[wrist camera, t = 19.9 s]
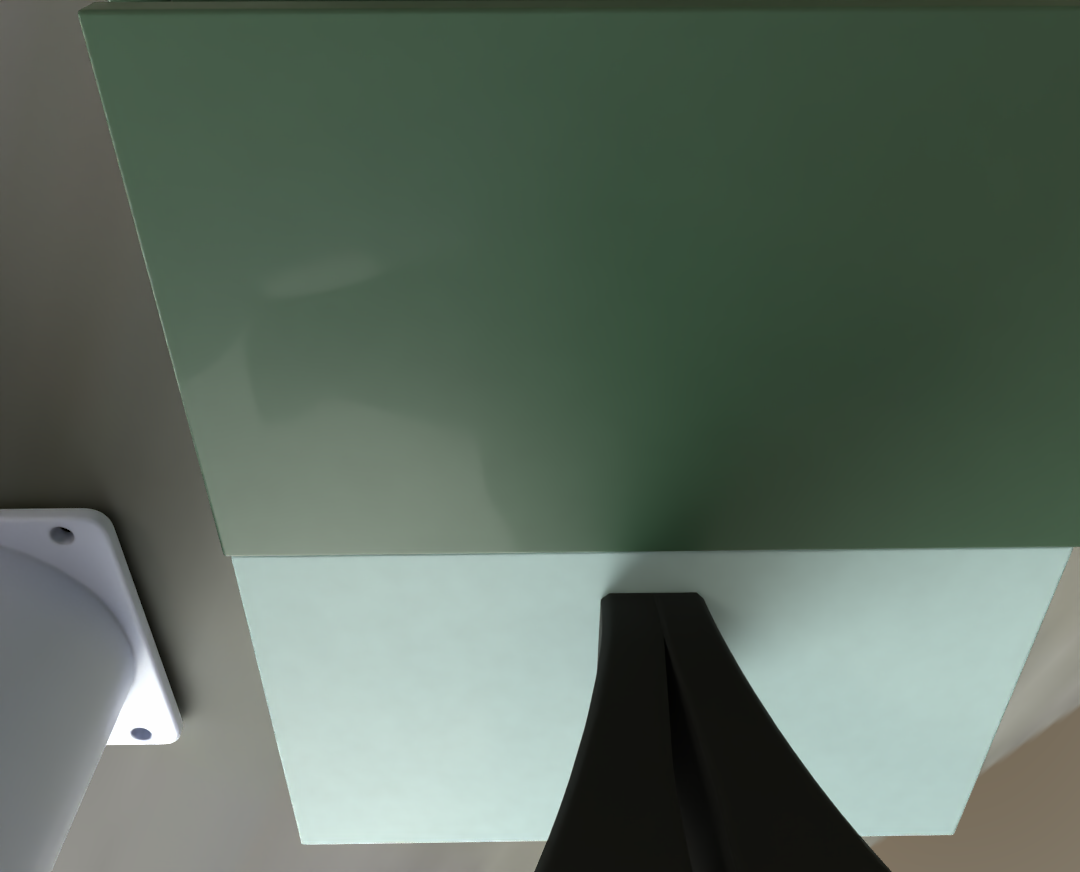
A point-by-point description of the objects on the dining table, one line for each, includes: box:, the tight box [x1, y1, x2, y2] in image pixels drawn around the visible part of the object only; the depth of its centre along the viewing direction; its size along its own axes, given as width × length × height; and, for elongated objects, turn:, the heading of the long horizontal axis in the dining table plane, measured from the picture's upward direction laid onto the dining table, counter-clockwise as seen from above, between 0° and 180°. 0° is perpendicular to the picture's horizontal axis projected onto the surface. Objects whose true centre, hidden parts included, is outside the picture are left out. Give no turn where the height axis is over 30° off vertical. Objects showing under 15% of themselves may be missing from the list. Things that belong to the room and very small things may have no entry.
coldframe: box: [78, 0, 1080, 556], centre depth 15 cm, size 13×11×7 cm
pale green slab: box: [231, 547, 1073, 845], centre depth 14 cm, size 6×11×1 cm, turn 90°
